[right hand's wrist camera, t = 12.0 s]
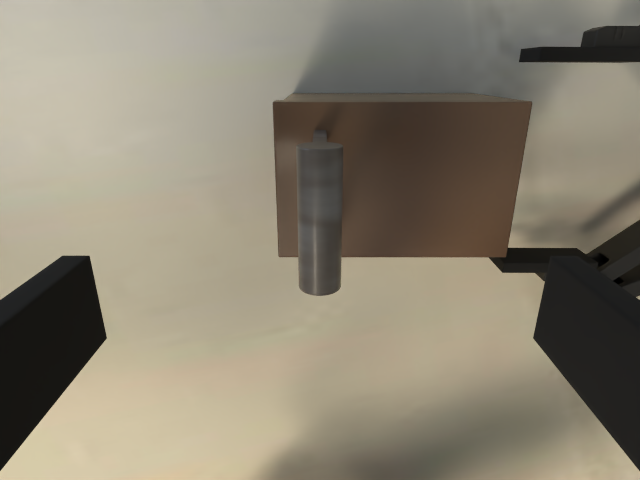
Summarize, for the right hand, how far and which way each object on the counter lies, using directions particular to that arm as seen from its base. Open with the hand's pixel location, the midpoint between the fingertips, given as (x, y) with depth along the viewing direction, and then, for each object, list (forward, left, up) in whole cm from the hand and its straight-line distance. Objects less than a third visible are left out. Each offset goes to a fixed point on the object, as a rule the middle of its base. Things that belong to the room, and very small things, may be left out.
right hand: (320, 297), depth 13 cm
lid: (+3, -4, -15) cm, 16 cm away
